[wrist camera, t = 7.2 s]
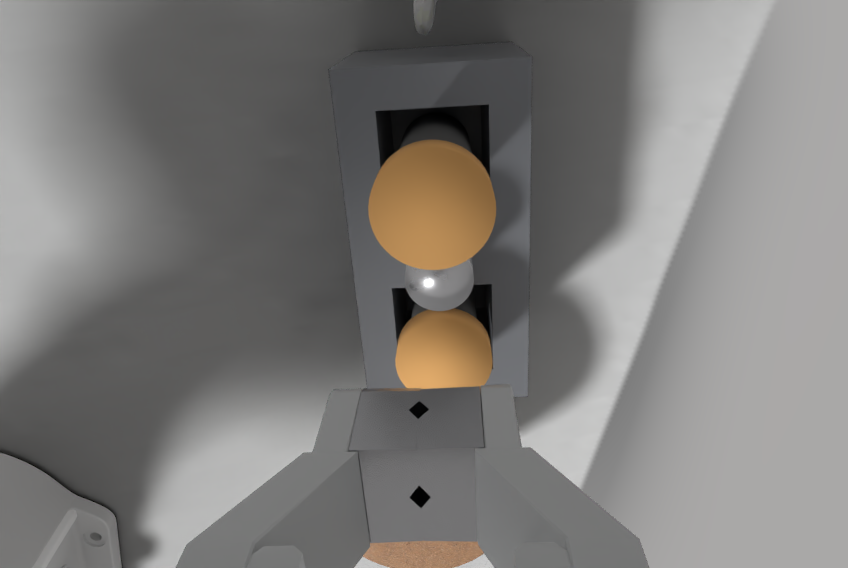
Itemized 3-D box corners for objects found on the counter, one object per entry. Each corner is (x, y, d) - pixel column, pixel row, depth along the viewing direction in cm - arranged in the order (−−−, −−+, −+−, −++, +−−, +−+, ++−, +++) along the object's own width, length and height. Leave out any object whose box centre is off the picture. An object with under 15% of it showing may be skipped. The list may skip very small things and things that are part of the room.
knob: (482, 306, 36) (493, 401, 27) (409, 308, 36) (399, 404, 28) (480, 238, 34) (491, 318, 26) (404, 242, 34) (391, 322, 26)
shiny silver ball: (472, 278, 28) (474, 309, 25) (410, 281, 28) (407, 312, 25) (470, 220, 27) (472, 246, 24) (406, 223, 27) (401, 249, 24)
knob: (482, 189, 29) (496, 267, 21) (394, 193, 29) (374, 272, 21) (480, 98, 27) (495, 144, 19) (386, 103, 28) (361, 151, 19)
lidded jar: (505, 352, 39) (522, 452, 30) (499, 481, 44) (512, 599, 35) (337, 351, 39) (308, 450, 31) (349, 479, 44) (326, 596, 35)
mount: (511, 319, 38) (527, 396, 31) (383, 324, 38) (368, 401, 31) (511, 41, 31) (532, 56, 24) (355, 51, 31) (328, 69, 24)
